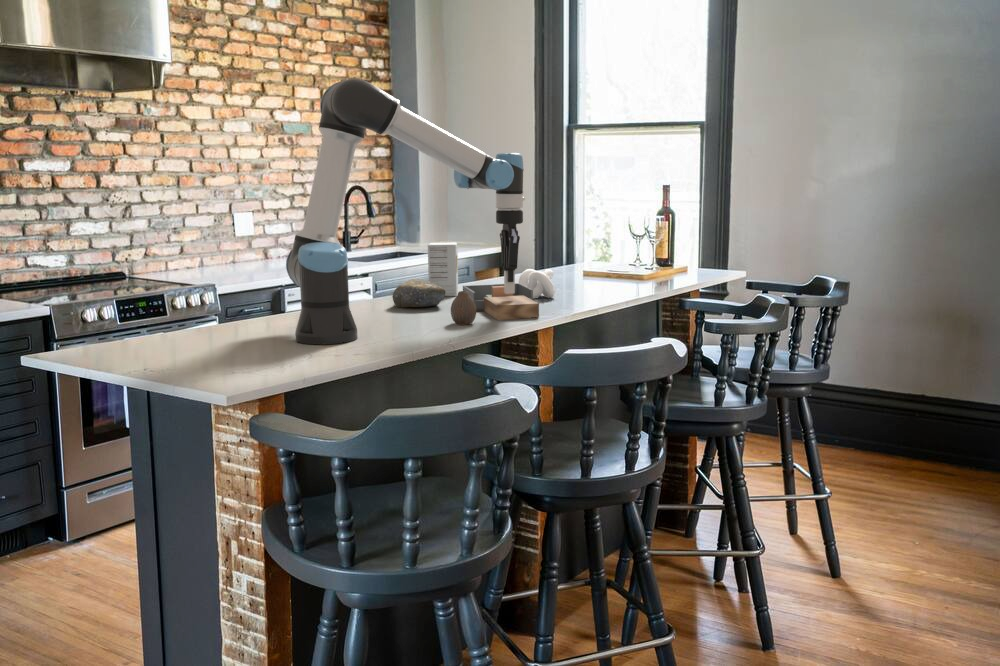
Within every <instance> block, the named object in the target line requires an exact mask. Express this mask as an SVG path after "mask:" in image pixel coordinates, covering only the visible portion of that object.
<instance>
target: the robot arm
mask: <svg viewBox="0 0 1000 666" xmlns="http://www.w3.org/2000/svg"><path fill="white" fill-rule="evenodd" d="M319 109H320V115H321V116H320V120H319V125H318V130H319V132H320V135H322V140H321V143H320V144H321V145H320V148H319V154H318V159H317V163H316V167H315V172H314V177H313V183H312V187H311V191H310V194H309V195H310V196H309V200H308V205H307V208H306V214H305V218H304V223H303V227H302V228H301V230H299V231H298V232H296V233H295V236H294V241H293V246H292V249H291V250H290V252H288V254H287V257H286V261H285V269H286V272H287V276H288V277H289V279H290V281H292V283H294V285H296V286H297V287H299V289H300V307H301V308H300V309H301V310H300V313H299V316H298V322H297V325H296V327H295V342H297V343H300V344H303V345H304V344H305V345H330V344H331V345H333V344H334V345H335V344H343V342H344V343H347V342H351V341H355V340H356V339H358V327H357V325H356V322H355V318H354V317H353V315H352V311H351V307H350V299H349V298H350V295H349V293H350V292H349V274H348V273H349V272H348V270H349V269H348V265H349V264H348V262H349V258H348V254H347V253H348V251H347V249H346V248H345V247H344V246H343V245H342V244H341V243H340V241H339V239H338V237H337V233H338V230H339V224H340V221H341V215H342V211H343V206H344V204H345V203H344V201H345V198H346V193H347V188H348V185H349V184H348V183H349V178H350V174H351V169H352V165H353V161H354V156H355V152H356V147H357V146H358V144H360V143H362V142H363V141H364V139H365V134H366V130H369V131H372V132H374V133H376V134H378V135H380V136H383V135H388V136H391V137H393V138H395V139H397V140H398V141H400V142H402V143H404V144H405V145H407V146H409V147H411V148H413V149H415V150H417V151H419V152H421V153H422V154H425V155H426V156H428V157H430V158H432V159H433V160H435V161H438V162H439V163H442V164H443V165H445V166H447V167H449V168H451V169H452V170H453V179H454V183H455V185H456V187H457V188H459V189H467V190H469V189H480V190H481V189H485V190H494V191H495V208H496V209H497V210H496V211H495V222H496V224H500V225H502V229H501V230H500V233H499V238H500V251H501V266H502V267H503V272H504V273H503V274H504V275H503V276H504V277H503V281H504V283H503V284H504V293H505V294H511V293H515V283H516V281H515V280H516V279H515V278H516V273H515V272H516V270H517V268H518V262H519V261H518V260H519V259H518V258H519V247H520V246H519V243H520V238H521V237H520V235H519V230H517V225H520V224H523V223H524V211H523V210H522V208H523V206H524V202H523V201H525V200H526V199H525V196H524V159H523V155H522V154H521V153H519V152H518V153H517V152H511V153H510V152H507V153H506V152H505V153H504V152H501V153H500V152H499V153H496V155H495V157H494V156H491V155H489V154H488V153H485V152H484V151H482V150H481V149H479V148H477V147H475V146H473V145H472V144H469V143H468V142H466V141H464V140H463V139H460V138H459V137H457V136H455V135H453V134H452V133H450V132H448V131H446V130H444V128H441V127H439V126H438V125H436V124H434V123H432V122H430V121H428V120H426V119H425V118H423V117H422V116H419V115H418V114H416V113H414V112H413V111H411V110H409V109H407V108H405V107H404V106H402V105H401V104H400V100H399V99H398V98H396V97H394V96H393V95H391V94H389V93H387V92H386V91H384V90H382V89H381V88H379V87H378V86H376V85H374V84H372V83H370V82H369V81H367V80H364V79H361V78H358V77H357V78H355V77H354V78H349V79H345V80H343V81H338V82H335V83H333V84H332V85H330V86H328V88H326V90H325V91H324V93H323V95H322V96H321V98H320V105H319Z"/></svg>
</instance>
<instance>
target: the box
mask: <svg viewBox="0 0 1000 666" xmlns="http://www.w3.org/2000/svg"><path fill="white" fill-rule="evenodd" d="M491 286H504V283H499V284H497V283H496V284H476V285H473V284H472V285H462V291H467V292H468V294H469V296H470V297H471V298H472V299H473V301H474V303H475V305H476V312H483V311H484V297H486V295H492V292H491ZM523 295H524V296H526V297H527V298H529V299H531V300H533V301H534V299H533V290H532V289H530V288H528V287H526V286H524V285H522V284H520V283H519V282H517V283H516V282H515V293H513V296H523ZM484 312H485V311H484Z"/></svg>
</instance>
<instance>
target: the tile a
mask: <svg viewBox="0 0 1000 666" xmlns="http://www.w3.org/2000/svg"><path fill="white" fill-rule="evenodd" d="M491 292H492V297H502V296H513V293H511V294H505V293H504V286H491Z"/></svg>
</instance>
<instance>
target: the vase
mask: <svg viewBox="0 0 1000 666" xmlns="http://www.w3.org/2000/svg"><path fill="white" fill-rule="evenodd" d="M450 316H451V319H452V321H453V322H454V323H455V324H456V326H457V325H458V326H467V325H471V324H472V323H473V322H475V319H476V317H477V311H476V305H475V303H474V301H473V299H472V298H471V297H470V296H469V294H468V292H467V291H463V290H460V291H459V290H458V294H457V296H455V298H454V299H453V301H452V302H451V306H450Z"/></svg>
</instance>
